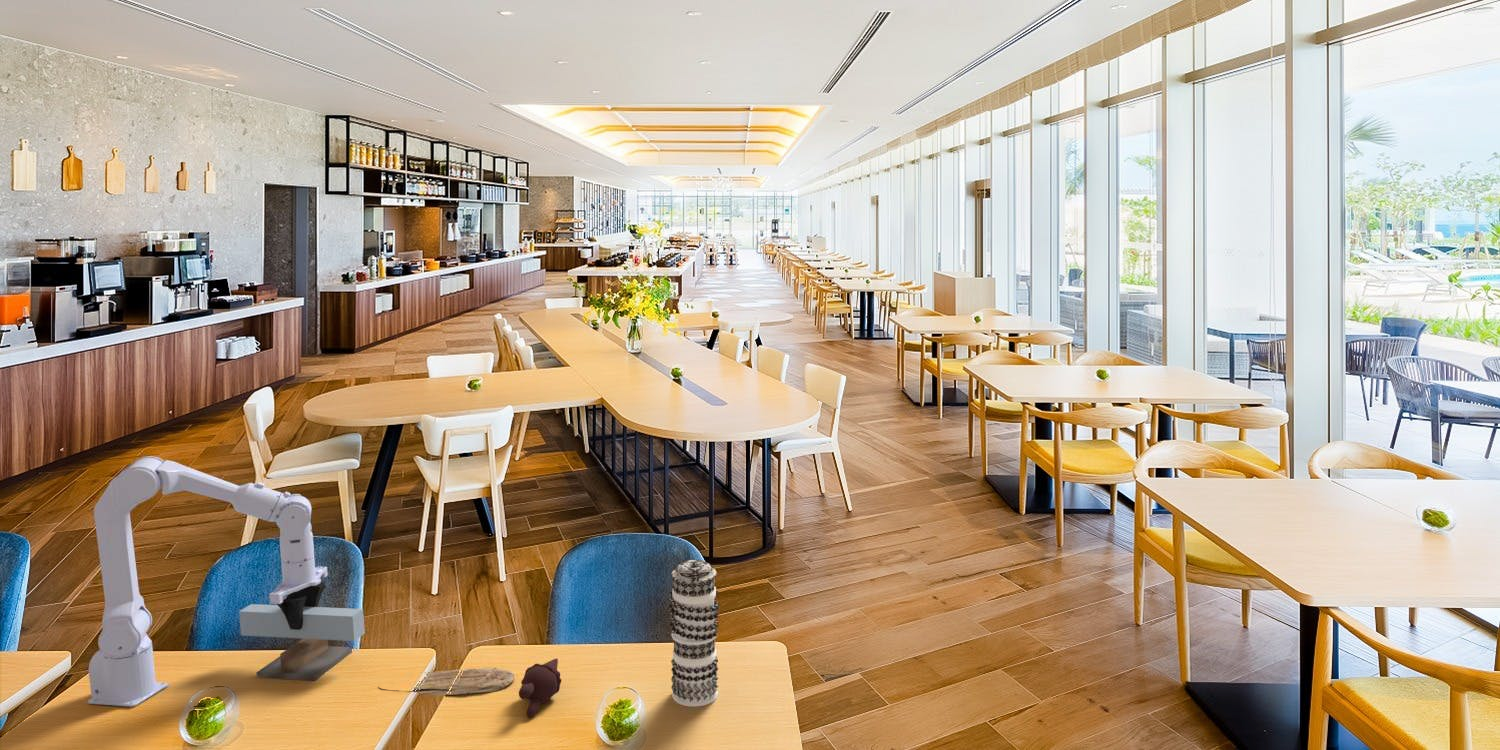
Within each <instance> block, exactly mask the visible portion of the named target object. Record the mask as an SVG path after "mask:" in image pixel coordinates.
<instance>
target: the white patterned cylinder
mask: <svg viewBox="0 0 1500 750" xmlns="http://www.w3.org/2000/svg"><path fill="white" fill-rule="evenodd" d="M671 576H672V590H671V591H670V592H669V596H668V597H667V598H668V600H669V604H668V607H669V611H670V614H669V619H670V622H669V625H670V630H672V632H671V633H670V634H671V637H672V640H673V651H672V659H671V661H670V662H671V663H670V664H671V666H672V667H671V672H672V673H671V674H672V676H671V679H670V680H671V682H672V685H671V689H672V694H671V696H672V698H673V702H676V703H677V704H678V705H680V706H683V707H684V706H685V707H694V708H696V707H702V706H707V705H708V704H711V703H713V702H714V701H715V700H716V699H717V698H718V694H719V691H718V688H719V684H718V680H719V677H718V672H717V671H718V670H719V667H718V662H719V659H718V656H717V648H716V646H715V645H716V638H717V637H718V633H719V630H718V629H717V628H718V626H719V621H717V619H718V617H719V615H720V612H719V611H718V609H719V607H720V603H719V602H718V601H717V600H715V599H716V596H718V595H719V591H718V590H717V588H716V586H715V581H716V580H715V576H717V570H716V569H715V568H713V567H712V566H711V565H710V563H708V562H706V561H704V560H700V559H691V560H685V561H683V562H681V563H679V564H678V565H677V568H675V569H673V570H672V572H671Z"/></svg>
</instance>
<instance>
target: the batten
mask: <svg viewBox="0 0 1500 750" xmlns="http://www.w3.org/2000/svg"><path fill="white" fill-rule="evenodd" d="M238 617H239V627H240V635H241V636H242V637H243V636H244V637H245V636H246V637H247V636H248V637H267V638H283V639H287V638H288V639H323V640H328V641H344V642H346V641H347V642H348V641H349V642H355V641H357V640H358V639H359V638H361V637H362V636H363V635H364V634H365V633H366V630H365V616H364V609H363V608H349V607H347V608H346V607H345V608H344V607H343V608H342V607H327V606H326V607H325V606H323V607H322V606H318V607H305V606H304V608H303V625H302V629H300V630H293V629H290V627H289V624H288V622H287V619H286V617H285V615H284V613H283V612H282V610H281V609H280V607H279V606H278V605H277V604H260V603H259V604H256V603H255V604H254V603H252V604H249V605H247V606H246V607H244V608H242V609H241V610H239V611H238Z"/></svg>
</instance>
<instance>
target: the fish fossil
mask: <svg viewBox="0 0 1500 750" xmlns="http://www.w3.org/2000/svg"><path fill="white" fill-rule="evenodd" d="M460 670H461V672H460V674H459V675H458V673H459V671H460ZM462 671H463V669H451V670H437V671H430V672H431V673H430V672H429V671H428V673H427V674H426V676H428V674H429V673H430V674H429V676H428V677H427V678H426V677H424V679H423V680H422V681H421V683H420V684H419V683H418V684H417V685H416V687H415V688H414V690H413V692H418V693H419V694H421V695H428V696H431V697H432V696H433V697H435V696H452V695H462V694H463V695H464V694H466V695H467V694H477V693H489V692H497V691H501V690H503V689H505V688H506V687H507V686H508V685H510V684H511V683H513V682H514V681H515V675H514V673H513V672H512V671H511V670H506V669H501V668H500V669H498V668H496V667H493V668H488V667H487V668H483V669H475V668H467V669H466V668H464V671H463V673H462ZM461 673H462V675H461ZM457 675H458V677H457V679H456V680H455V678H456V676H457ZM459 677H460V678H459ZM424 680H425V682H424V683H423V681H424ZM454 680H455V682H454ZM419 682H420V681H419ZM453 682H454V684H453ZM422 683H423V685H421V684H422ZM452 684H453V685H452ZM417 686H418V687H417ZM451 686H452V688H451V690H450V691H449V689H450V687H451ZM419 688H420V690H419ZM416 689H417V690H416ZM415 690H416V691H415ZM418 690H419V691H418ZM448 691H449V693H448V695H447V692H448ZM450 692H451V694H450Z"/></svg>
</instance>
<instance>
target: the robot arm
mask: <svg viewBox="0 0 1500 750" xmlns="http://www.w3.org/2000/svg"><path fill="white" fill-rule="evenodd" d="M159 490H162V493H161V494H162V496H166V495H170V494H174V493H177V492H181V491H185V492H186V491H187V492H191V493H194V494H197V495H201V496H205V497H209V498H213V499H216V500H220V501H224V502H228V503H230V504H231V505H232V507H233V509H234V510H235V511H236V512H238V513H241V514H244V515H247V516H251V517H254V518H256V519H260V520H263V521H267V522H270V523H273V522H275V524H276V525H277V527H278V528H279V533H280V537H279V538H278V539H279V549H280V563H281V572H282V573H281V574H282V575H281V576H282V581H281V582H280V584H278V585H277V587H276V588H275V589H274V591H272V592H270V593H269V605H278V606H279V607H280V609H281V610H282V612H283V613H284V615H285V617H286V619H287V622H288V624H289V627H290V629H293V630H300V629H302V625H303V608H304V606H305V607H319V604H320V600H321V597H322V595H323V592H324V591H325V589H326V582H325V581H321V580H322V579H321V578H326V577H327V576H329V575H328V567H327V566H319V565H318V566H316V563H315V546H314V534H313V532H312V530H313V529H312V523H311V519H312V508H313V507H312V504H311V502H310V500H309V499H308V498H307V497H305V496H302V494H300V493H293V494H291V493H290V492H288V491H285V492H281V491H278V490H274V489H271V488H268V487H265V483H264V482H260V481H257V483H253V482H248V483H245V484H242V485H238V484H235V483H232V482H229V481H227V480H224V479H221V478H219V477H216V476H213V475H210V474H207V473H205V472H202V471H199V470H197V469H194V468H192V467H189V466H187V465H183V464H181V463H179V462H176V461H173V460H169V459H166V460H163V459H162V458H160V457H157V456H152V455H150V456H143V457H139V458H138V459H136V460H134V461H133V462H132V463H130V464H129V465H128V466H126V467H125V468H124V469H122V471H121V472H119V474H118V475H117V476H115V477H114V478H112V480H111V481H110V482H109V483H108V486H107V488H106V489H105V491H104V492H103V494H102V495H101V496H100V498H99V499H98V501H97V502H96V504H95V505H94V507H93V508H94V509H93V516H94V523H95V524H94V525H95V532H96V539H97V548H98V556H99V564H100V573H101V580H102V587H103V595H104V603H105V604H104V610H103V614H102V621H101V623H102V630H101V633H100V634H99V636H98V639H97V640H98V641H97V644H98V648H99V649H98V650H97V651H96V652H95V653H94V654H93V656H92V657H91V658H90V661H89V665H88V675H89V684H90V685H89V686H90V694H91V698H90V699H89V700H87V703H88V704H91V705H105V706H116V707H131V708H132V707H133V708H134V707H136V706H137V705H139V704H140V703H143V702H144V701H146V700H147V699H149V698H150V697H152V696H154V695H155V694H157V693H158V692H160V691H162V690H163V689H165V688H167V687H168V686H169V682H165V681H164V682H163V681H162V682H161V681H157V678H156V669H155V660H154V659H155V658H154V652H153V651H154V649H153V641H152V639H151V638H150V637H149V635H148V634H147V632H148V631H149V630H150V629H151V626H152V624H153V617H152V614H151V612H150V611H149V610H148V608H146V606H145V600H144V597H143V596H142V595H141V593H140V589H139V581H138V580H139V579H138V571H137V564H136V556H135V547H134V539H133V538H134V537H133V529H132V522H131V514H130V513H131V511H132V510H133V509H135V508H136V506H137V505H140V504H141V503H143V502H145V501H148V500H149V499H151V498H153V497H154V496H156V494H157V493H158V492H159Z"/></svg>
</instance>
